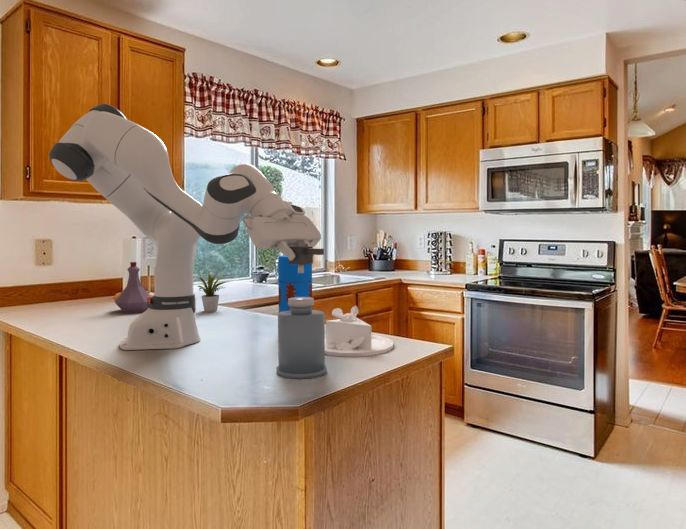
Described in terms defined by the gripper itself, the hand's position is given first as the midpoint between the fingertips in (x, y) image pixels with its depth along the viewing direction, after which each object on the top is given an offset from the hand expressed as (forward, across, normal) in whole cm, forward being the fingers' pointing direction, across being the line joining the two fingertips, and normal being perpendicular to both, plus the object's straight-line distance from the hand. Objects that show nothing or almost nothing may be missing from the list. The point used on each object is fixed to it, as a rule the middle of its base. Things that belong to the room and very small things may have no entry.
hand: (302, 257), depth 119 cm
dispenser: (+19, 0, +20) cm, 27 cm away
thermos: (-3, +31, +42) cm, 52 cm away
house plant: (-43, +40, +82) cm, 101 cm away
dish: (+14, +28, +25) cm, 40 cm away
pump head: (+4, 0, +1) cm, 4 cm away
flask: (-62, +23, +100) cm, 120 cm away
